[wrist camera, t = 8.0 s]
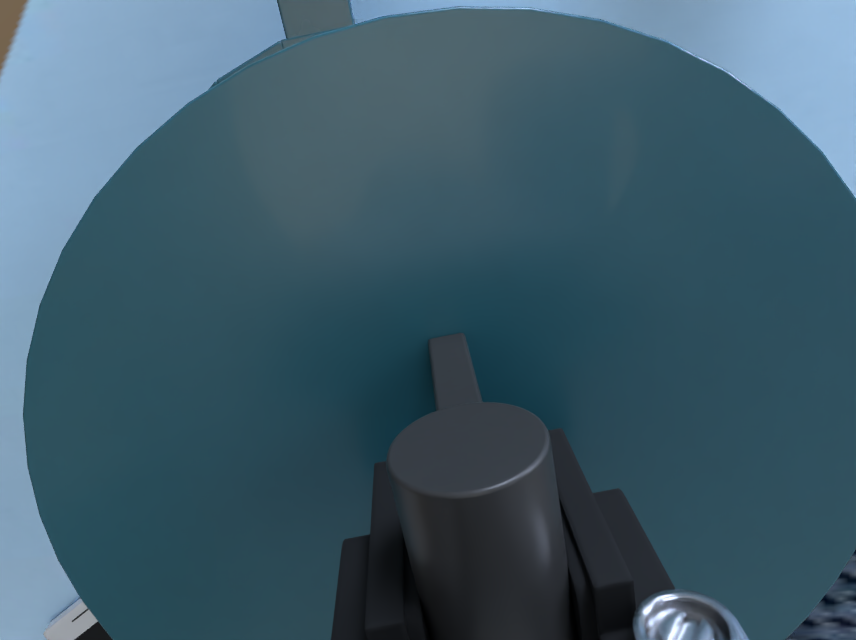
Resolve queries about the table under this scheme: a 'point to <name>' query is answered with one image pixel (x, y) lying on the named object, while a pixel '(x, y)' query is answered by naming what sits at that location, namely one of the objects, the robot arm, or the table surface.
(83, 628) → the smartphone
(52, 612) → the table surface
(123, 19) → the table surface
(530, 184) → the lid
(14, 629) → the table surface
